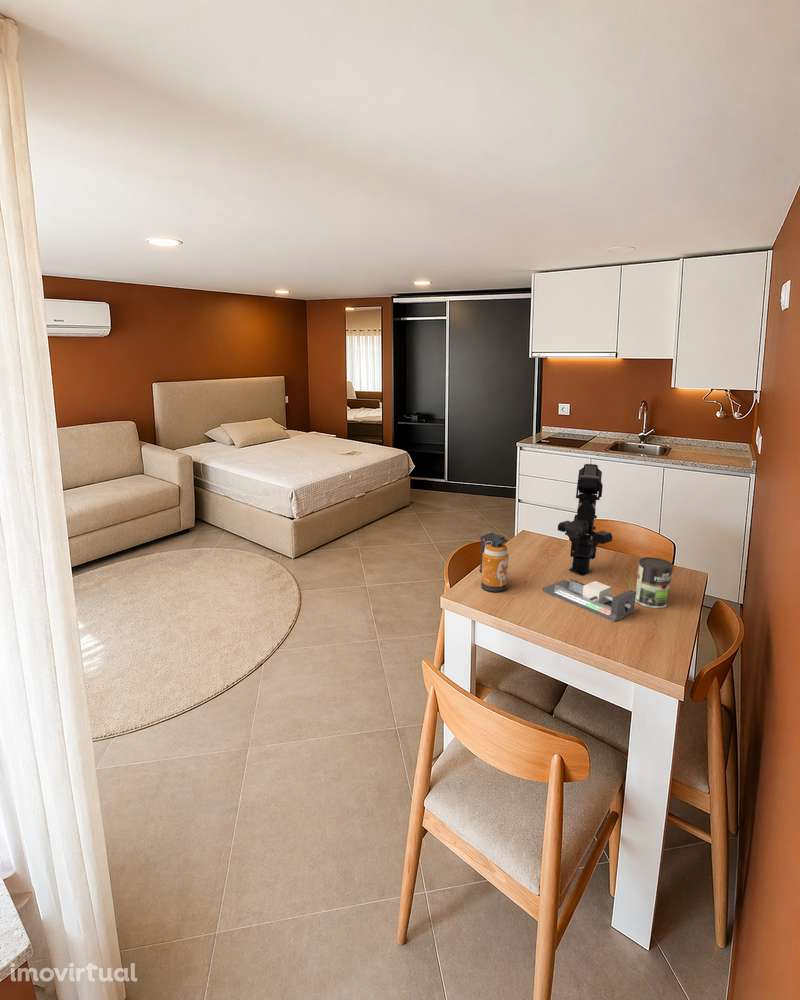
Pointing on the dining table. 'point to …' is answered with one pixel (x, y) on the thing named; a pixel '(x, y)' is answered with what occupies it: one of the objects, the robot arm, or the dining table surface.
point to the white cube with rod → (599, 592)
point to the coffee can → (653, 582)
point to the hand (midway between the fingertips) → (581, 554)
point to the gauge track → (608, 610)
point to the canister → (494, 562)
